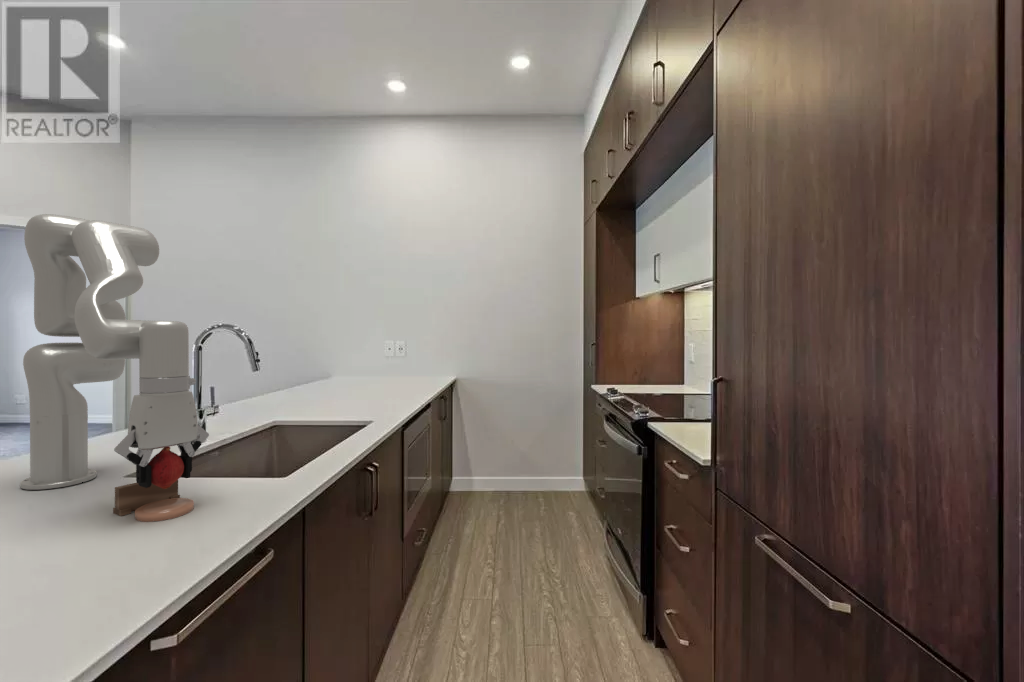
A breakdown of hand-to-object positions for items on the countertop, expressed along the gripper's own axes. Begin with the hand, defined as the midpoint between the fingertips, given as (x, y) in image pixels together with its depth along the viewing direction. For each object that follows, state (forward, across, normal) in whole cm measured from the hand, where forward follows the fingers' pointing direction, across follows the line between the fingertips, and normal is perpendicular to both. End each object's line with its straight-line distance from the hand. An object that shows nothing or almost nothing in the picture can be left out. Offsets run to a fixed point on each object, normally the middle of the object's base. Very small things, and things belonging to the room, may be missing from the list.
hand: (165, 480), depth 90 cm
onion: (+2, 0, 0) cm, 2 cm away
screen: (+6, 0, -6) cm, 9 cm away
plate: (+6, 0, 0) cm, 6 cm away
